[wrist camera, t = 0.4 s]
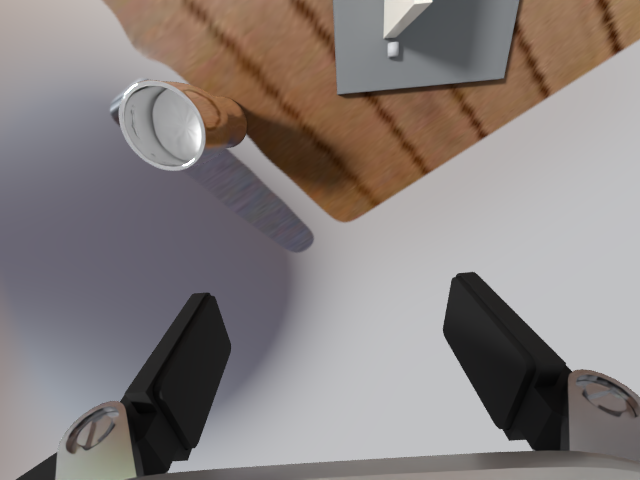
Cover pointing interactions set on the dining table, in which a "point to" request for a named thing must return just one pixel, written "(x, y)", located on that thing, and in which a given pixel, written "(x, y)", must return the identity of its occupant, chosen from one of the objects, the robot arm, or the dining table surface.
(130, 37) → the dining table surface
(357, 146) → the dining table surface
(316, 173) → the dining table surface
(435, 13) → the mat
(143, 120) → the beer glass
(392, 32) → the tile
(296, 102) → the dining table surface
